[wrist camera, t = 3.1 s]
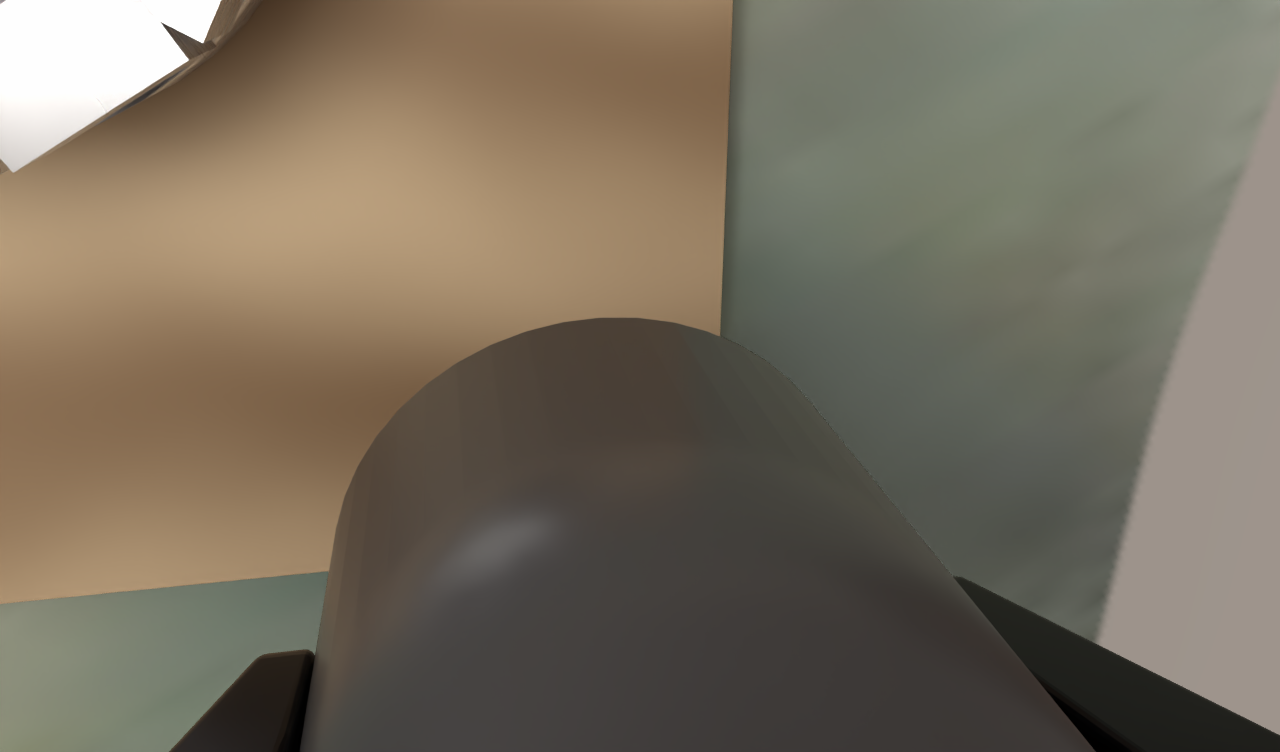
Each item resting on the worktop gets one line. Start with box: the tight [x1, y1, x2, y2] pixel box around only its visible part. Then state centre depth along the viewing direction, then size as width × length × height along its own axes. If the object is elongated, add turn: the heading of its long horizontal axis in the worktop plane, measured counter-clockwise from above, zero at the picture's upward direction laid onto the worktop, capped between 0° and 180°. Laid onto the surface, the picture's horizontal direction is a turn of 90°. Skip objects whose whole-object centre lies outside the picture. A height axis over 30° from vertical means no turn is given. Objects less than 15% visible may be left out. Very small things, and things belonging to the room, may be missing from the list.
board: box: [0, 0, 733, 604], centre depth 14 cm, size 18×15×1 cm
